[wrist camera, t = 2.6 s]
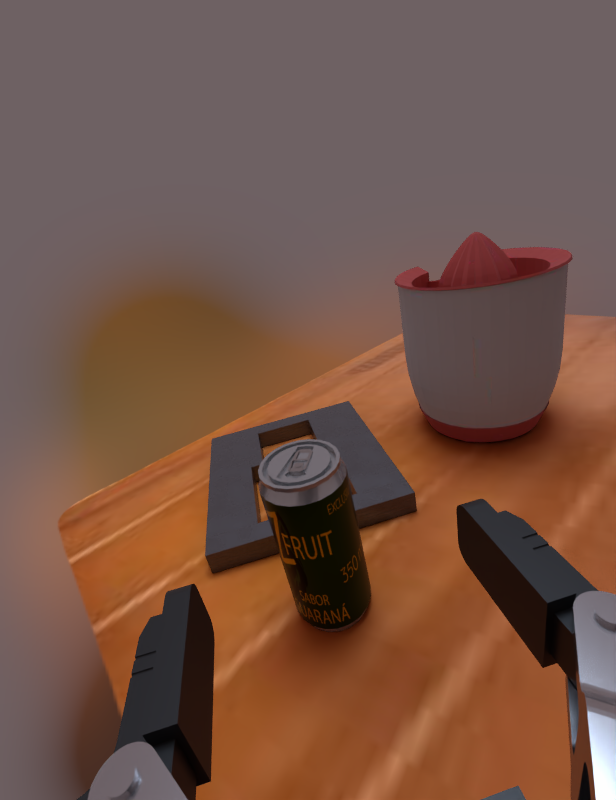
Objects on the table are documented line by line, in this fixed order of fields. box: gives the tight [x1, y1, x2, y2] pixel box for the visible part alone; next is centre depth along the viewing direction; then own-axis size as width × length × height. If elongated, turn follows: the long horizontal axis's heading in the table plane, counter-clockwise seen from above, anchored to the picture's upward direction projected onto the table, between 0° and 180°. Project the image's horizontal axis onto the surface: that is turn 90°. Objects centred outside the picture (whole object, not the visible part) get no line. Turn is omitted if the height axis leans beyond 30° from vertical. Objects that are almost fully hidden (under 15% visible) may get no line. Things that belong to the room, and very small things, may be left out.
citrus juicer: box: [395, 232, 572, 442], centre depth 43 cm, size 16×17×20 cm
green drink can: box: [258, 439, 371, 632], centre depth 26 cm, size 5×5×12 cm
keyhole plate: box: [205, 401, 417, 573], centre depth 43 cm, size 20×18×2 cm
